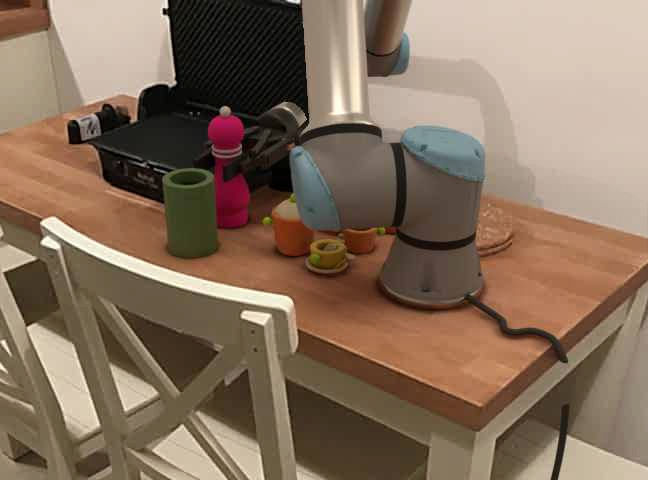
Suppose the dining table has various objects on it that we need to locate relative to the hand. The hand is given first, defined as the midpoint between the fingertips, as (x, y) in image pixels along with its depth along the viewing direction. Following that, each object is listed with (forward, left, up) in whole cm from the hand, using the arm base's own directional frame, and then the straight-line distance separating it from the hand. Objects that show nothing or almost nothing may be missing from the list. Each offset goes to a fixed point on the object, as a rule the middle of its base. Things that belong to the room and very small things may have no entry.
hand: (210, 170), depth 150 cm
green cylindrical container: (-3, +5, -11) cm, 13 cm away
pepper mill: (+3, -5, -11) cm, 12 cm away
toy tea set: (-14, -17, -11) cm, 25 cm away
